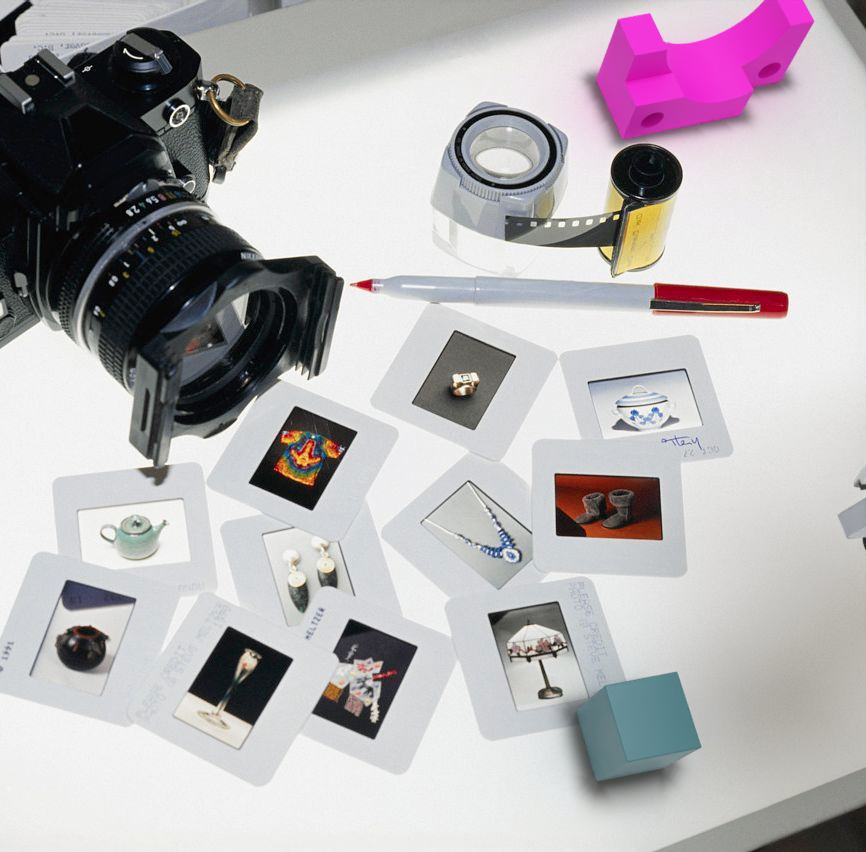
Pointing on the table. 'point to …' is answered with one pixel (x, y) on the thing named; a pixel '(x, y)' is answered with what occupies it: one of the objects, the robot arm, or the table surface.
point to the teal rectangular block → (637, 726)
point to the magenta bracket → (696, 68)
